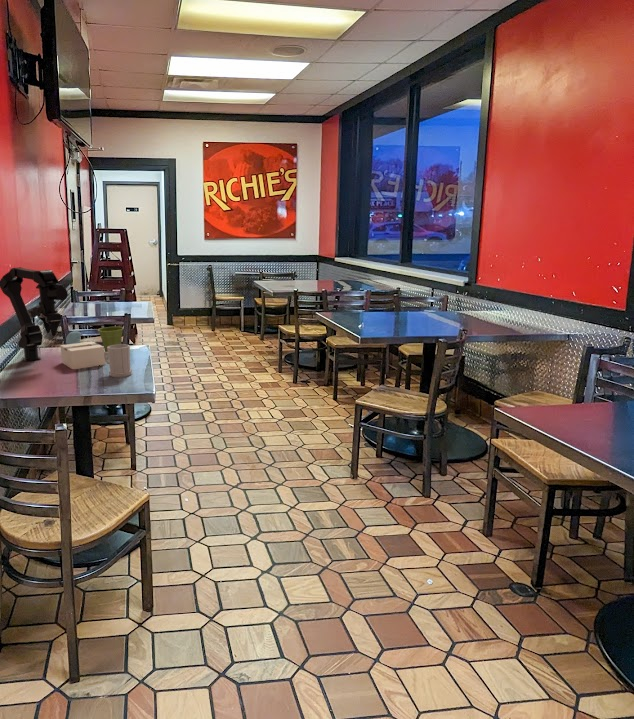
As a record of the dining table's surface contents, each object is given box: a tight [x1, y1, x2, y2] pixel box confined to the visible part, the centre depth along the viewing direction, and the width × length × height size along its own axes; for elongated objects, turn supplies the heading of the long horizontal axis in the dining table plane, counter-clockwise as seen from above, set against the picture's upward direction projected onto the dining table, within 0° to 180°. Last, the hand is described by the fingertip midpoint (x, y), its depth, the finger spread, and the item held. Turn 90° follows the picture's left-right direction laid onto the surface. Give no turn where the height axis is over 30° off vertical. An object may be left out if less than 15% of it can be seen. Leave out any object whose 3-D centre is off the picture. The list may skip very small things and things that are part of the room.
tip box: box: [59, 341, 106, 370], centre depth 282 cm, size 16×14×8 cm
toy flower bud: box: [65, 330, 84, 345], centre depth 315 cm, size 7×9×12 cm
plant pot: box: [97, 326, 124, 353], centre depth 306 cm, size 12×12×11 cm
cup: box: [104, 343, 133, 378], centre depth 261 cm, size 10×9×12 cm
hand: (50, 334), depth 282 cm, fingers open, 9 cm apart
